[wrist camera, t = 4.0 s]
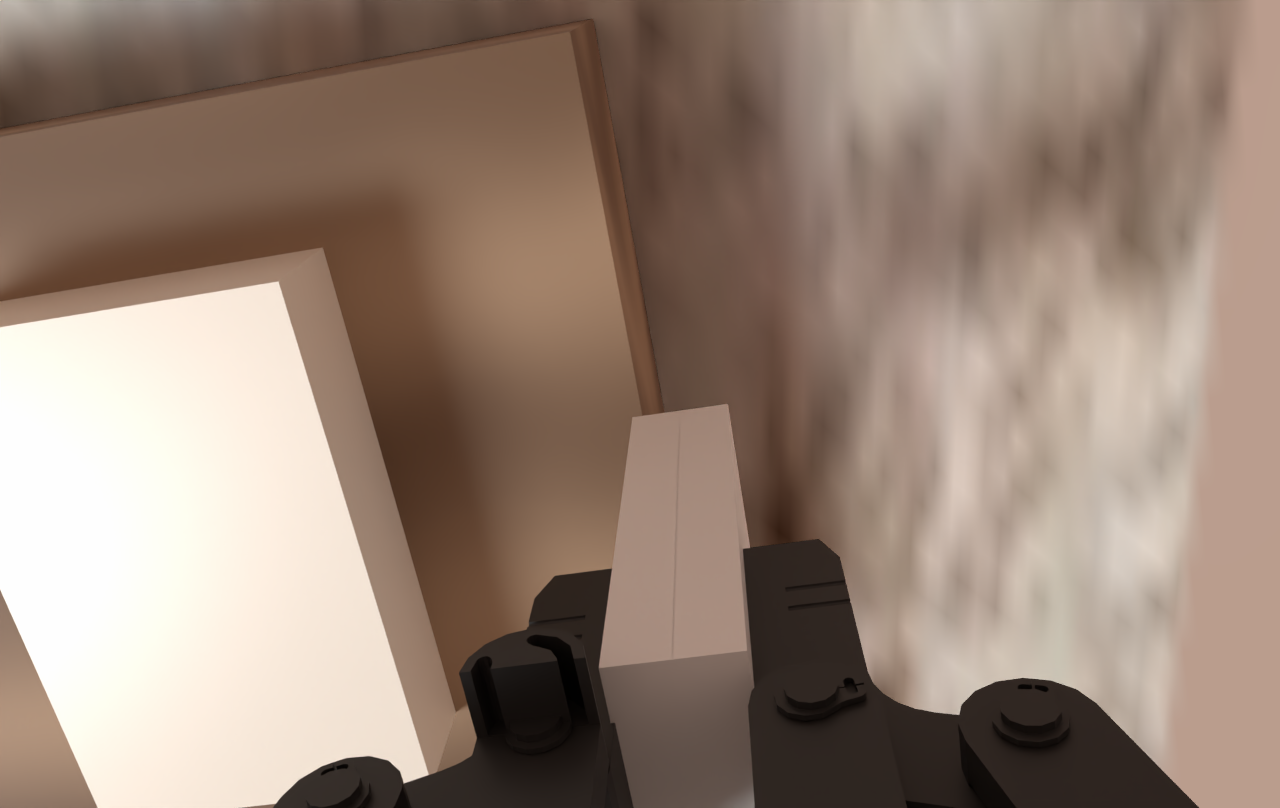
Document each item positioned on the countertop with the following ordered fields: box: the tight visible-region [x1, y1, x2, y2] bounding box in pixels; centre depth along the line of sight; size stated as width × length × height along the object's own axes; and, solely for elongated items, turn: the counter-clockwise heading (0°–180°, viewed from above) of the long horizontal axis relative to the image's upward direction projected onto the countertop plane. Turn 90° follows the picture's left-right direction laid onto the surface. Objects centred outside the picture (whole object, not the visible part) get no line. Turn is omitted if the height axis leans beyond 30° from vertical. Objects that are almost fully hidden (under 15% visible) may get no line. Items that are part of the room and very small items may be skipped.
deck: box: [0, 19, 664, 808], centre depth 21 cm, size 14×15×4 cm
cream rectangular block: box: [0, 247, 456, 808], centre depth 18 cm, size 9×6×2 cm, turn 10°
